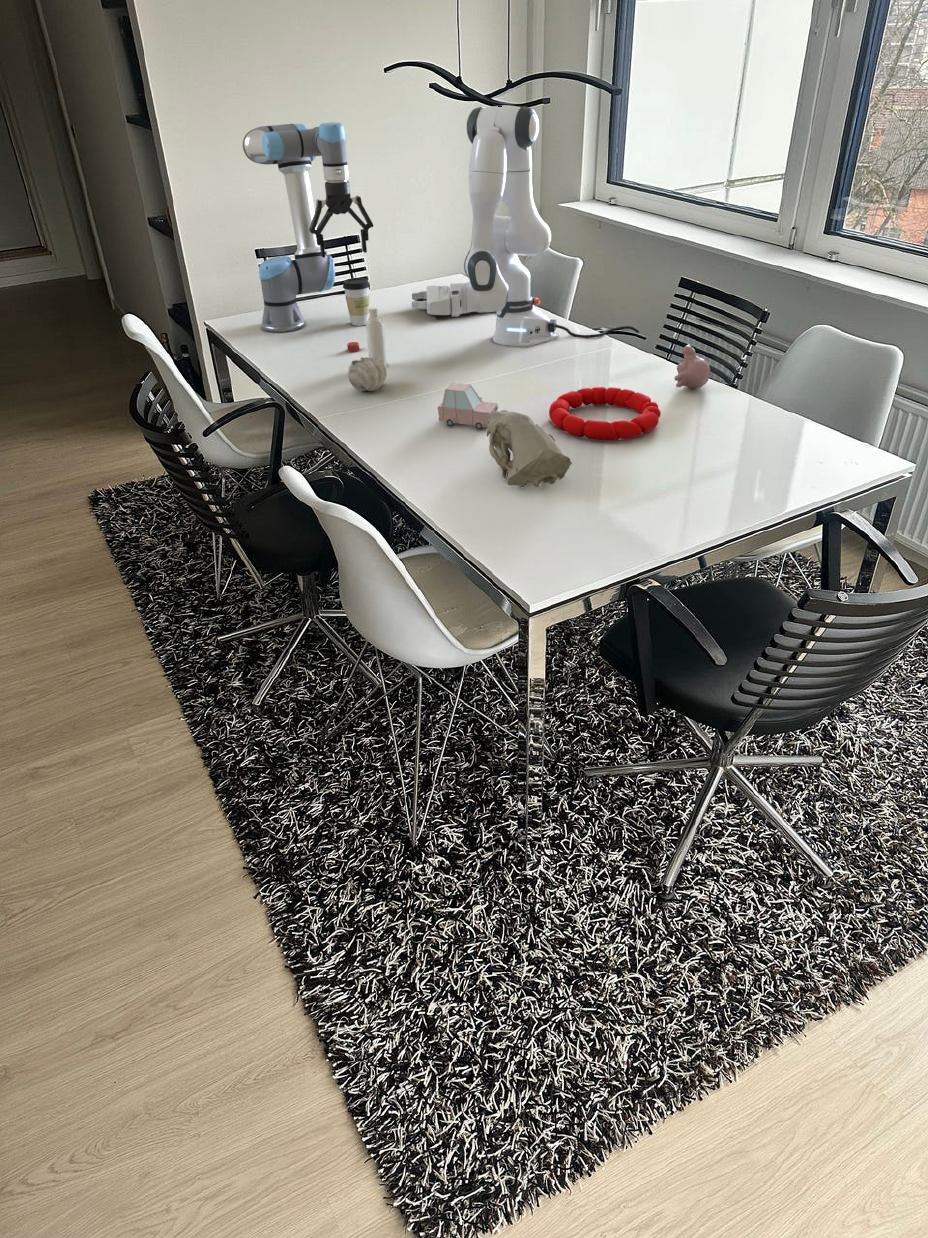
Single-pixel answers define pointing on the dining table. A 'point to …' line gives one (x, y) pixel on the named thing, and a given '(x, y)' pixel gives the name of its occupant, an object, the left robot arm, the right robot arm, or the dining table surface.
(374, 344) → the bottle
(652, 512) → the dining table surface
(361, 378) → the seashell
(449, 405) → the toy car
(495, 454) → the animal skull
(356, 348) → the cap
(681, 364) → the figurine
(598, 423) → the decorative ring
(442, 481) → the dining table surface
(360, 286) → the coffee cup
